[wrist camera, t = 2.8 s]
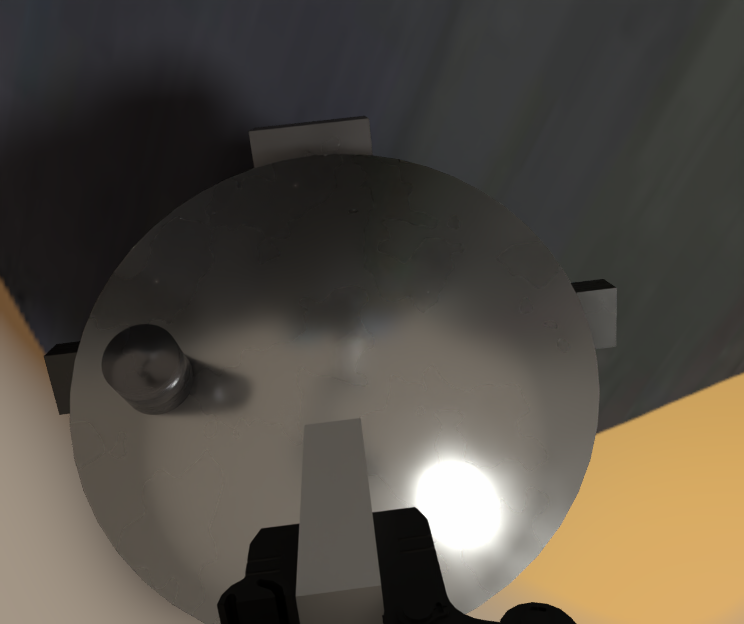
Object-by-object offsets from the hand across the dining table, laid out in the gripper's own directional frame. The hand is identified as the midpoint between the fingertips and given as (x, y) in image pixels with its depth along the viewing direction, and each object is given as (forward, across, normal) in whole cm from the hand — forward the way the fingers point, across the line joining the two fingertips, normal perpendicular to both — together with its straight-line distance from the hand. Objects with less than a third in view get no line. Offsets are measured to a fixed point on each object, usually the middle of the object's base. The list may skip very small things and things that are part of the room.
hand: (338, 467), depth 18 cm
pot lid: (+5, 0, -1) cm, 6 cm away
